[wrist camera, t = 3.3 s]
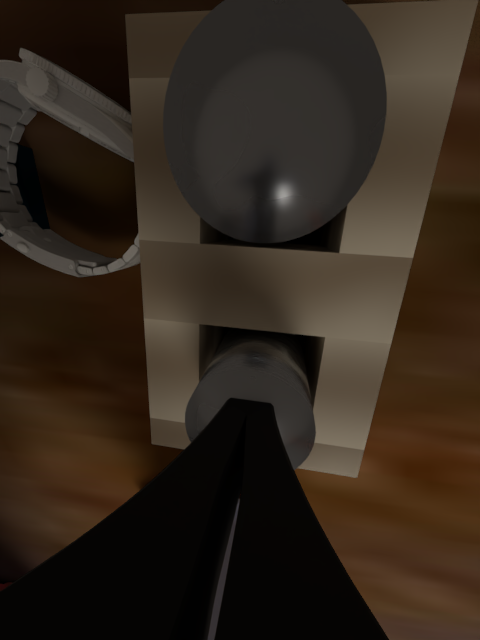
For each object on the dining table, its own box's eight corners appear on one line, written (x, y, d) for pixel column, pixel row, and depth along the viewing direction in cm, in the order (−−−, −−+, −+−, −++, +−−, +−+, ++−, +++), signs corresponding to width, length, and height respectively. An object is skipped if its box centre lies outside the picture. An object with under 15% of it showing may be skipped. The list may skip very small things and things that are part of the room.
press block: (335, 405, 16) (357, 477, 11) (187, 385, 17) (151, 444, 12) (396, 96, 11) (478, -2, 6) (185, 97, 12) (124, 14, 8)
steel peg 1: (325, 240, 10) (361, 250, 5) (217, 234, 10) (166, 237, 6) (345, 109, 9) (414, -28, 4) (220, 109, 9) (158, -14, 5)
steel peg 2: (298, 401, 13) (306, 490, 9) (217, 390, 14) (185, 468, 9) (309, 323, 12) (325, 380, 7) (220, 314, 12) (183, 362, 8)
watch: (-34, 108, 14) (176, 91, 13) (11, 267, 16) (189, 266, 15) (-224, 32, 8) (106, -9, 7) (-113, 286, 11) (146, 286, 10)
